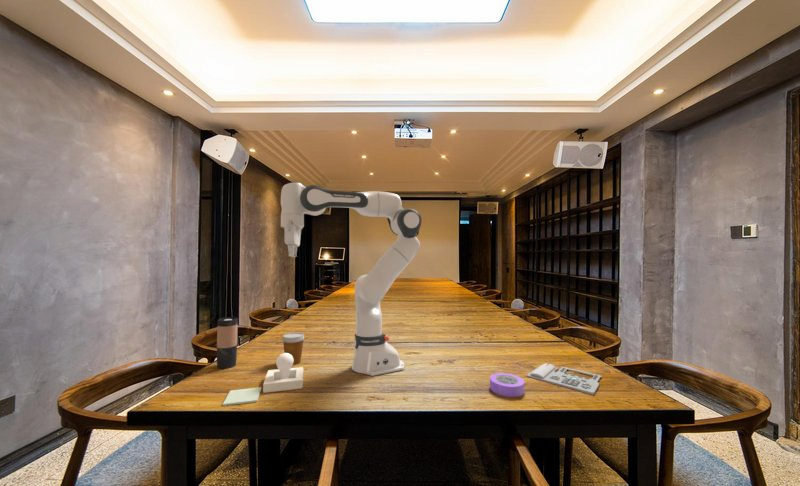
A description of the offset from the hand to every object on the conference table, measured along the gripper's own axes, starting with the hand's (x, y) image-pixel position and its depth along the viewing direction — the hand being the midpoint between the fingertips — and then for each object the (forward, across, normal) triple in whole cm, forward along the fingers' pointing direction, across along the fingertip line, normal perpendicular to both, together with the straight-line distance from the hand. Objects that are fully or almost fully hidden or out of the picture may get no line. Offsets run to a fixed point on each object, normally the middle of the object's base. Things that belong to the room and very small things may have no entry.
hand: (292, 256), depth 124 cm
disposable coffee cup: (+46, +17, +2) cm, 49 cm away
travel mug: (+46, +18, +29) cm, 57 cm away
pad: (+47, -14, +14) cm, 51 cm away
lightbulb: (+47, -5, +3) cm, 48 cm away
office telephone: (+52, -22, -105) cm, 119 cm away
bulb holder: (+47, -5, +3) cm, 47 cm away
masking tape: (+51, -27, -76) cm, 95 cm away
